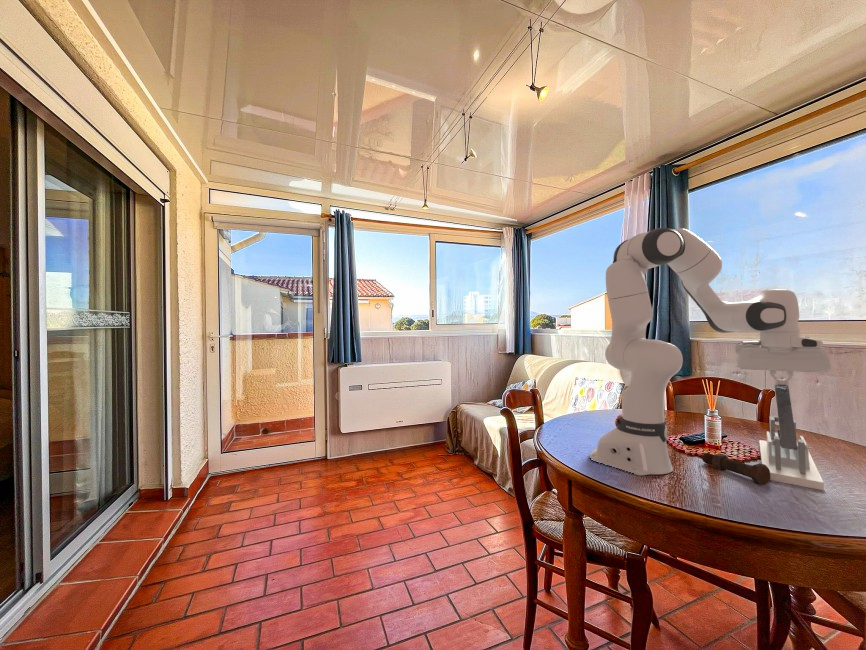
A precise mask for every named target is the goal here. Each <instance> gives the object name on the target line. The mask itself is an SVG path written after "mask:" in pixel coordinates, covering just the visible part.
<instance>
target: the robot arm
mask: <svg viewBox="0 0 866 650" xmlns="http://www.w3.org/2000/svg"><path fill="white" fill-rule="evenodd" d="M664 265H668V266H669V268H670V269H672V271H673V272H674V273H675V274H677V276H678V277H679V278H680V279H681V285H682V287H683V289H684V290H685V291H686V293H687V295H688V296H689V297H690V298H691V299H692V300H693V302H694V303H695V304H696V305H697V307H698V308H699V309H700V310H701V312H702V313H703V314H704V316H705V318H706V321H707V323H708V325H709V326H710V328H711V329H713V330H714V331H716V332H718V333H723V334H724V333H735V332H737V333H744V332H745V333H748V332H752V333H754V332H756V333H757V332H759V340H752V341H751V340H750V341H748V340H747V341H746V340H743V341H740V342H738V343H736V345H735V353H736V354H737V355H738V357H737V368H739V369H740V370H746V371H747V370H748V371H751V370H752V371H769V374H770V376H771V377H772V378H773V380H774V386H775V385H782V386H788V387H789V385H790V384H789V381H790V380H791V379H792V378H793V377H794V372H798V373H799V372H800V373H825V374H827V373H829V372H830V371H831V370H832V367H831V366H832V365H831V361H830V357H829V353H828V352H827V351H826V350H825V349H824V348H822V347H824V342H823V341H822V340H820V339H817V338H813V337H810V336H802V334H801V329H800V327H799V319H800V307H799V302H798V298H797V295H796V293H795V292H794V291H792V290H789V289H785V288H783V289H782V288H780V289H779V288H773V289H772V288H771V289H765V290H762V291H760V294H759V295H757V296H756V297H753V298H752V299H748V300H746V301H737V302H729V301H725V300H722V299H721V298H720V297H719V295H718V294H717V293H716V292H715V291H714V289H713V288H712V287H711V286H710V283H711V282H712V281H714V279H716V278H717V276H718V275H719V274H720V272H721V271H722V267H723V260H722V258H721V256H720V255H719V254H718V252H716V250H714V248H712V247H711V246H710V245H709V244H708V243H707V242H705V241H704V240H703V238H700V237H699V236H697V235H696V234H695V233H694V232H692V231H690V230H688V229H686V228H681V227H680V228H675V229H673V228H669V227H657V228H654V229H652V230H650V231H646V232H642V233H639V234H636V235H634V236H632V237H631V238H629V239H625V240H624V241H622V242H621V243H620V244H618V245H617V247H616V248H615V250H614V253H613V261H612V263H611V264H609V266H608V267H607V268H606V271H605V289H606V290H605V291H606V298H607V301H608V308H609V311H610V317H611V326H612V327H611V336H610V341H609V344H608V345H607V346H606V348H605V353H604V355H605V359H606V361H607V363H608V364H609V365H610V366H612V367H613V368H615V369H616V370H619V371H621V372H623V373H624V372H625V373H630V374H631V375H630V376H631V377H630V381H629V384H628V386H627V387H626V388H625V389H624V390H623V391H622V392H621V409H622V410H621V411H622V413H621V414H619V415H617V416H616V419H615V420H614V425H615V428H613V429H611V430H610V431H608V432H607V433H605V434H603V435H602V436H600V438H599V439H598V442H597V447H596V448H594V449H593V450H592V451H590V453H589V459H590V458H591V459H593V460H595V461H598V462H601V463H604V464H607V465H610V466H612V467H611V468H613V467H616V468H619V469H622V470H625V471H624V472H626V471H628V472H627V473H629V472H631V473H630V474H632V473H634V474H633V475H636V476H647V475H665V474H666V475H667V474H669V473H671V472H673V471H674V467H673V465H672V462H671V459H670V455H669V449H668V445H667V440H668V426H667V421H666V420H665V392H666V390H667V386H668V384H669V381H670V380H671V378H672V377H674V376H675V375H676V374H678V373H679V372H680V370H681V369H682V367H683V364H684V363H683V361H684V359H683V354H682V351H681V350H680V349H679V347H677V346H676V345H674V344H672V343H670V342H666V341H663V340H659V339H650V338H646V336H647V335H646V333H647V326H648V324H649V323H650V322H651V321H652V320H653V317H654V313H653V308H652V303H651V298H650V293H649V289H648V285H647V282H646V274H647V271H648V270H650V269H652V268H656V267H660V266H664ZM777 372H785V373H786V375H787V376H786V377H785V378H784V379H783V378H777V376H776V375H777ZM616 468H615V469H616ZM619 469H618V470H619ZM622 470H621V471H622Z"/></svg>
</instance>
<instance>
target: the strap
mask: <svg viewBox="0 0 866 650" xmlns="http://www.w3.org/2000/svg"><path fill="white" fill-rule="evenodd" d="M774 393H775V402H776V411H777V417H778V421H779V422H778V427H779V430H780V438H781V447H782V448H786V449H793V450H797V443H798V440H797V441H796V437H797V433H796V434H795V427H794V421H793V418H794V415H793V409H792V401H791V395H790V388H789V386H782V385H775V384H774Z"/></svg>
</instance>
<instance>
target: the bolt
mask: <svg viewBox="0 0 866 650" xmlns="http://www.w3.org/2000/svg"><path fill="white" fill-rule="evenodd" d="M701 460H702V461H703V462H704V463H705V464H708V465H711V466H713V468H714V469H715V470H716V471H717V470H718V471H721V472H725V471H729V472H733V473H736V474H738V475H741V476H744V477H747V478H749V479H751V480H752V482H753V483H754V484H756V485H758V486H764V485H768V483H769V482H770V481H771V480H770V470H769V468H768V467H767V466H766V465H764V464H762V462H761V463H757V464H753V465H752V464H747V463H744V462H741V461H736V460H733V459H729V457H728V456H727V455H726V454H723V453H716V454H712V453H710V452H705V453H703V454H702V456H701Z"/></svg>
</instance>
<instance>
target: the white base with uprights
mask: <svg viewBox="0 0 866 650" xmlns="http://www.w3.org/2000/svg"><path fill="white" fill-rule="evenodd" d="M793 421H794V427H795V434H796V435H797V422H796V420H795V418H794V417H793ZM777 422H778V423H779V421H778V416H775V415H769V431H766V440H763V439H762V440H761V439H759V441H758V442H759V453H760V460H761V461H760V462H761V464H764V465H766V466H767V467H768V468H769V470H770V481H773V482H779V483H784V484H789V485H794V486H800V487H804V488H808V489H809V488H810V489H814V490H820V491H825V485H824V484H825V483H824V480H823V478H822V476H821V474H820V472H819V470H818V467H817V465H816V464H815V461H814V459H813V457H812V455H811V453H810V450H809V446H808V444H807V442H806V440H805V438H804V435H799V438H798V439H797V437H798V436H796V441H797V450H793V449H786V448H782V447H781V438H780V430H779V426H776V423H777Z"/></svg>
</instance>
